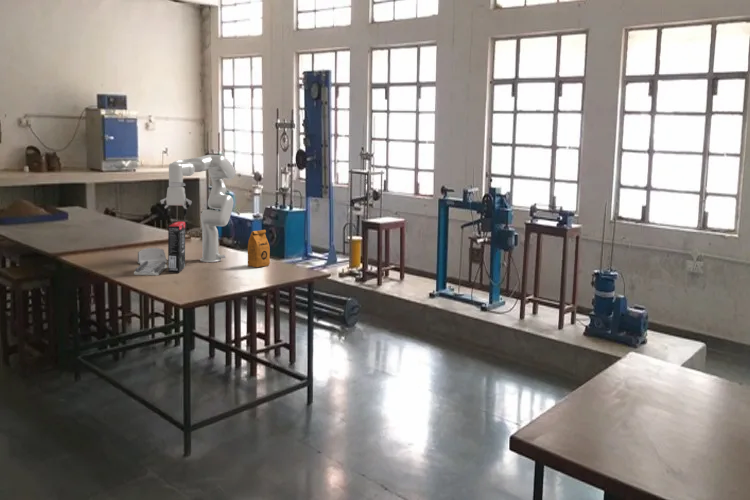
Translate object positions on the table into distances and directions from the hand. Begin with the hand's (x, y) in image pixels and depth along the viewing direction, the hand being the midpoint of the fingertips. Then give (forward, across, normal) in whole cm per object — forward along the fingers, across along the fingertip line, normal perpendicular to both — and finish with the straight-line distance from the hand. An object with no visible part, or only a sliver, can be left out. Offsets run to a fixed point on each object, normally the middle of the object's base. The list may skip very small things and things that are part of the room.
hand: (176, 215), depth 385 cm
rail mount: (+32, +14, +2) cm, 35 cm away
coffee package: (+32, -45, -16) cm, 58 cm away
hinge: (+32, +19, -20) cm, 42 cm away
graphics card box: (+32, 0, 0) cm, 32 cm away
